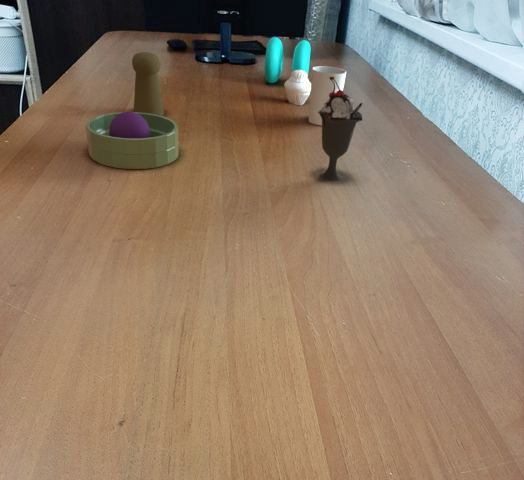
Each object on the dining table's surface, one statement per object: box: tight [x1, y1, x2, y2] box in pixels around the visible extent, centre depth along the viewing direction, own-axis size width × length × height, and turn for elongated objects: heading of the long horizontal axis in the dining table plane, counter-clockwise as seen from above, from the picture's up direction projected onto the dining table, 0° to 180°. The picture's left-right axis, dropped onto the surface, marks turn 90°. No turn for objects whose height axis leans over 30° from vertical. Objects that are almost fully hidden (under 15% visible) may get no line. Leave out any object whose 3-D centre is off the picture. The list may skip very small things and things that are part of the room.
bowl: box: [85, 111, 180, 170], centre depth 92 cm, size 14×14×5 cm
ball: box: [109, 111, 150, 139], centre depth 91 cm, size 6×6×6 cm
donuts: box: [264, 36, 312, 84], centre depth 137 cm, size 10×10×10 cm
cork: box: [131, 51, 165, 116], centre depth 108 cm, size 6×6×11 cm
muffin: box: [283, 69, 311, 106], centre depth 124 cm, size 6×6×7 cm
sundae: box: [318, 77, 363, 182], centre depth 87 cm, size 7×7×15 cm
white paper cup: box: [308, 65, 347, 127], centre depth 112 cm, size 7×7×10 cm
